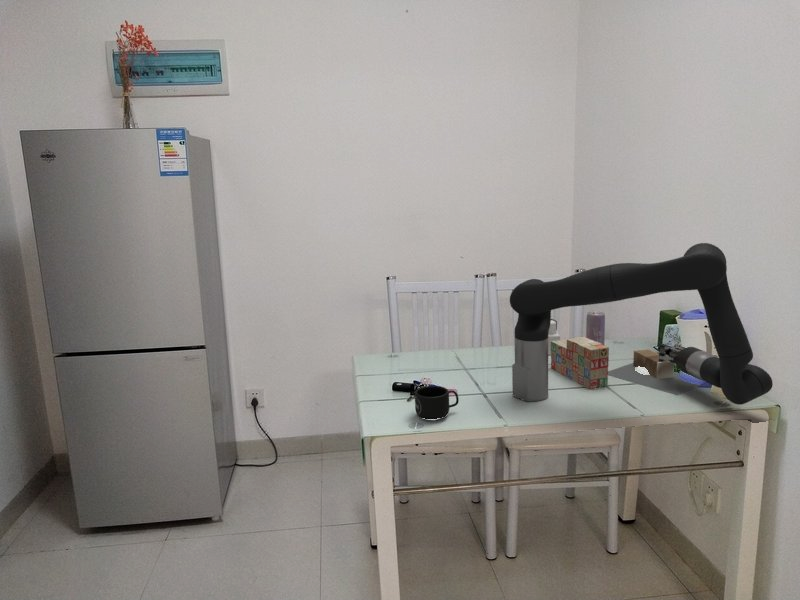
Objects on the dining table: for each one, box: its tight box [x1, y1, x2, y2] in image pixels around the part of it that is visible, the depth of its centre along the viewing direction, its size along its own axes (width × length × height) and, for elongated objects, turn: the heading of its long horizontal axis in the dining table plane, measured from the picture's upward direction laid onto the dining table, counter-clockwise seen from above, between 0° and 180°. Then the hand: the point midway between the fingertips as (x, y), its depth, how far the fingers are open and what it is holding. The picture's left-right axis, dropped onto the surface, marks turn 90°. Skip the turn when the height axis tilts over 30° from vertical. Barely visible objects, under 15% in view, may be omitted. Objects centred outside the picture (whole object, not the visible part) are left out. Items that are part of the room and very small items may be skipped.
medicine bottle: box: [548, 318, 561, 356], centre depth 192 cm, size 7×7×12 cm
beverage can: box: [585, 311, 606, 346], centre depth 185 cm, size 6×6×15 cm
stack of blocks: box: [550, 336, 610, 390], centre depth 166 cm, size 21×6×12 cm, turn 16°
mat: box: [608, 362, 701, 396], centre depth 163 cm, size 20×24×1 cm
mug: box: [414, 385, 459, 420], centre depth 143 cm, size 12×9×7 cm
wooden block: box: [632, 349, 675, 379], centre depth 166 cm, size 5×5×13 cm
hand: (660, 347), depth 162 cm, fingers closed
